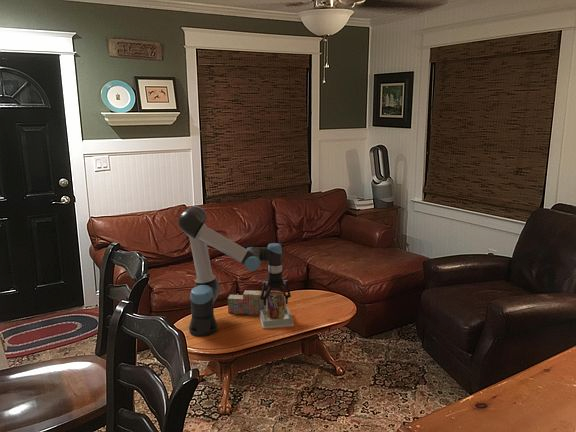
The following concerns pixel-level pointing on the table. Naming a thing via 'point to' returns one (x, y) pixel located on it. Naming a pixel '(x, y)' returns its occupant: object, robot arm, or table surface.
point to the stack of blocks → (246, 303)
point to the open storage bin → (275, 320)
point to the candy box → (275, 305)
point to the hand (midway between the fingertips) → (275, 309)
